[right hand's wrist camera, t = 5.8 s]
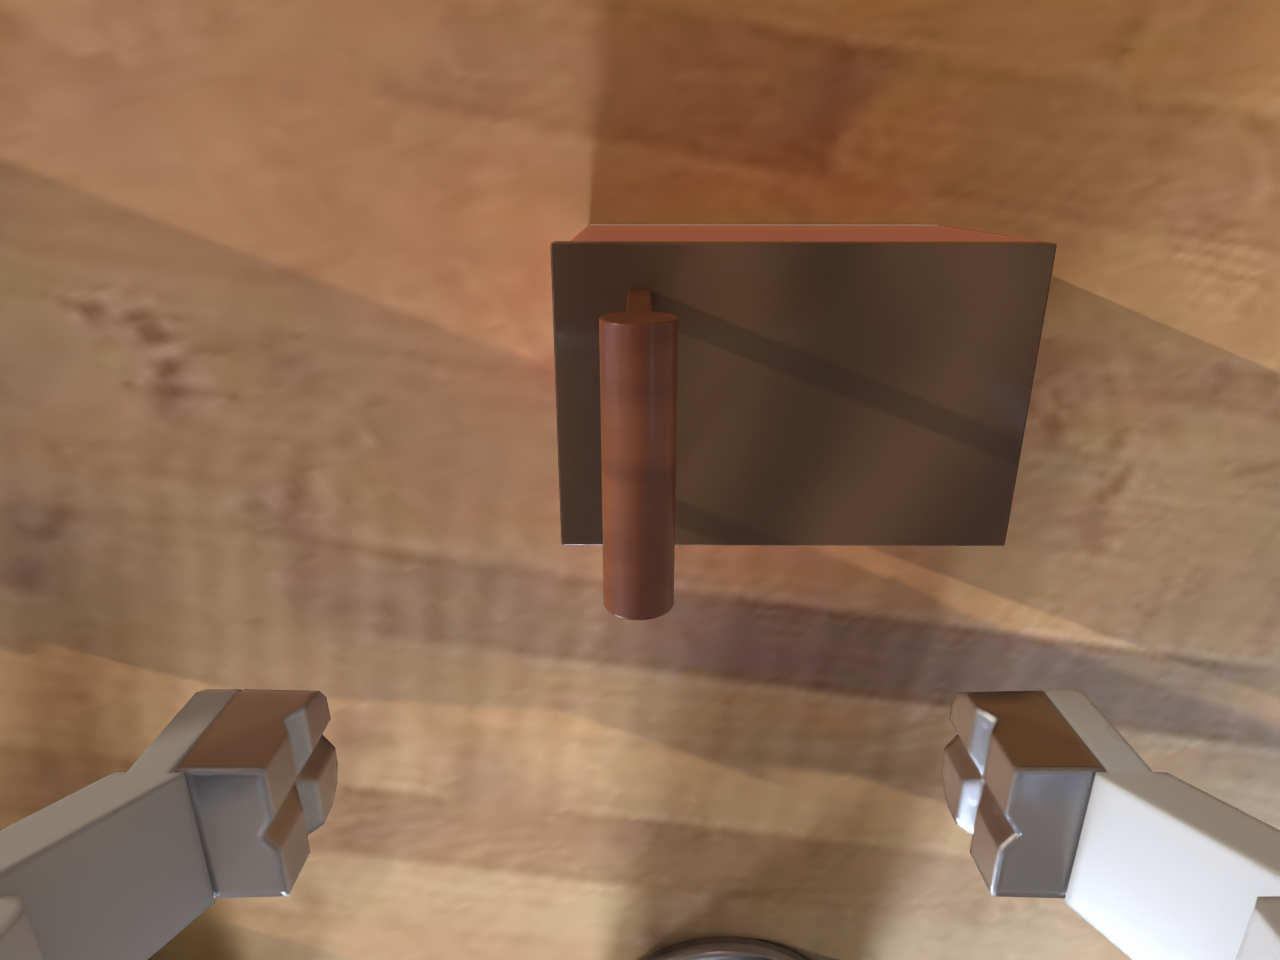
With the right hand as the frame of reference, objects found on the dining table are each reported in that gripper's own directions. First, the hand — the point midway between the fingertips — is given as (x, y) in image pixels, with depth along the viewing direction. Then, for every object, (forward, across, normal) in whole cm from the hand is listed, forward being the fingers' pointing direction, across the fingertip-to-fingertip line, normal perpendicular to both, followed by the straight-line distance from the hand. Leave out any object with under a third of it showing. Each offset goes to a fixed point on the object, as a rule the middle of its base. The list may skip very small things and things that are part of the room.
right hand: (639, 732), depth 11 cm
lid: (+17, -5, 0) cm, 18 cm away
